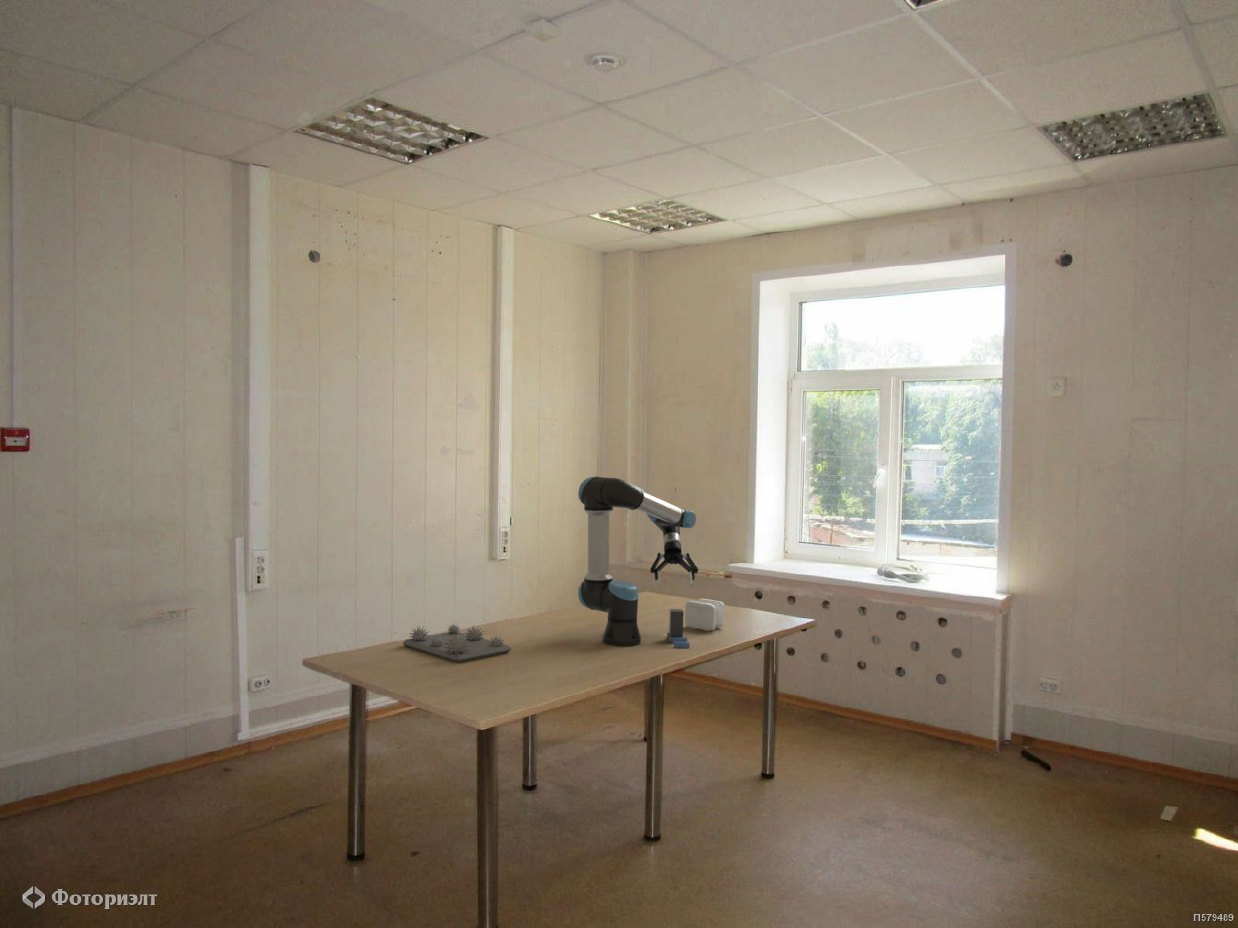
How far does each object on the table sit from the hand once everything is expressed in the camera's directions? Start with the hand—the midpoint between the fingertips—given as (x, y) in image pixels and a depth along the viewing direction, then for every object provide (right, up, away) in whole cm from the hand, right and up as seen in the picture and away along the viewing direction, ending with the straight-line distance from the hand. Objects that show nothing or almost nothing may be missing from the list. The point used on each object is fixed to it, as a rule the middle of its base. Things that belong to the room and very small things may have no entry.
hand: (675, 585), depth 346 cm
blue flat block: (+1, -20, -22) cm, 29 cm away
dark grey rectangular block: (-1, -20, -13) cm, 24 cm away
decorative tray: (-84, -19, -39) cm, 95 cm away
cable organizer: (+14, -20, +12) cm, 27 cm away
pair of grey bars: (-1, -20, -13) cm, 24 cm away
